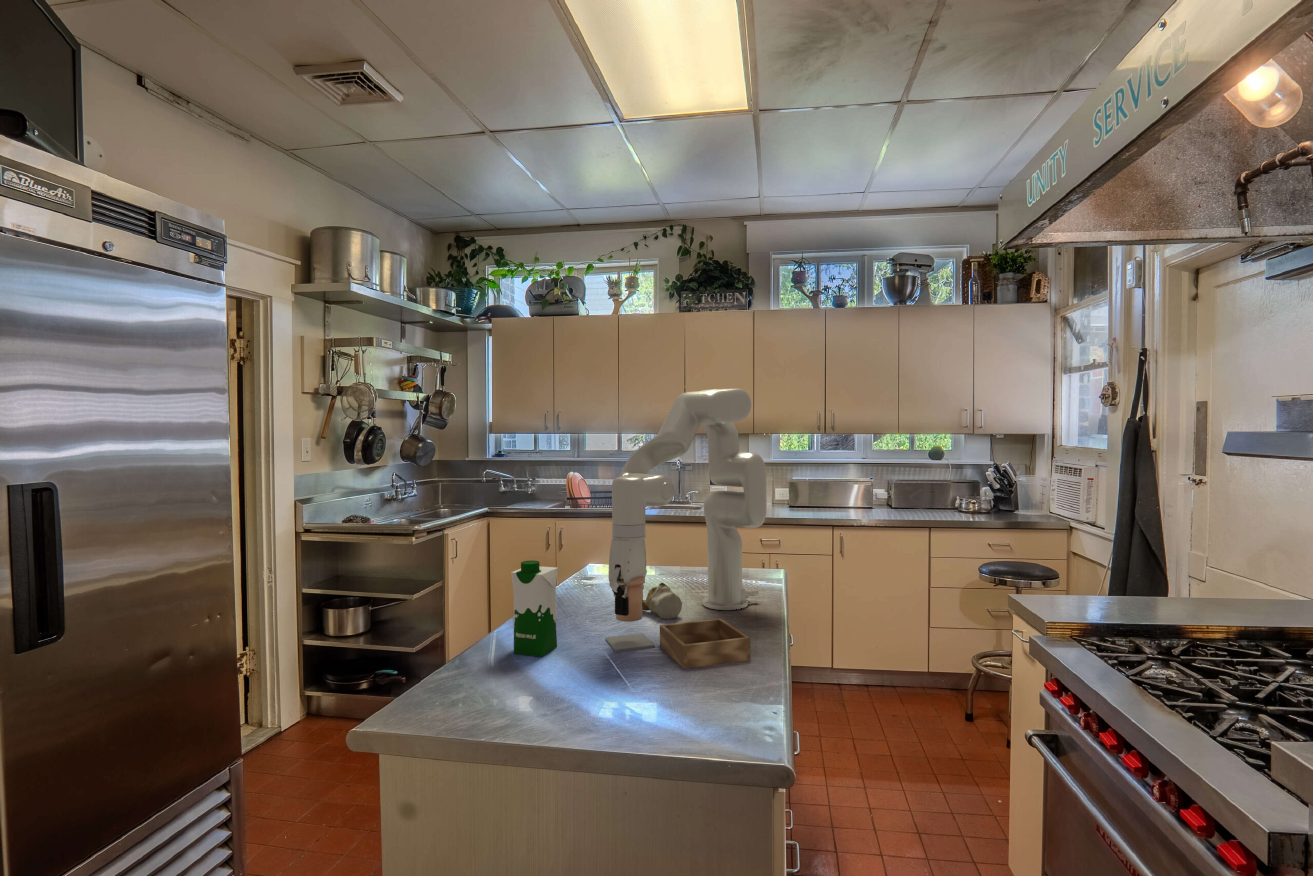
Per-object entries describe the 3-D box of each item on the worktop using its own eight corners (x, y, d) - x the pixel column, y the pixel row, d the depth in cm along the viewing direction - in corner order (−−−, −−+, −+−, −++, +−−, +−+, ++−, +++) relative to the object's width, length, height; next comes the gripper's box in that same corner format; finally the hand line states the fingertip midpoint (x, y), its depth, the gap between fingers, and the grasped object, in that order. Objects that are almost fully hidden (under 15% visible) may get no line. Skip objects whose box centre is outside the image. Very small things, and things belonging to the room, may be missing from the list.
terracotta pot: (639, 612, 151) (639, 573, 151) (649, 620, 145) (649, 580, 145) (609, 615, 149) (609, 575, 149) (617, 623, 142) (617, 582, 142)
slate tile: (642, 637, 153) (642, 633, 153) (654, 649, 144) (654, 645, 144) (605, 641, 150) (605, 637, 150) (615, 654, 141) (615, 649, 141)
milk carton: (507, 654, 142) (506, 563, 141) (528, 642, 150) (528, 555, 150) (543, 659, 139) (542, 565, 138) (563, 645, 147) (562, 557, 147)
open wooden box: (721, 640, 150) (721, 618, 150) (750, 661, 136) (750, 638, 136) (659, 647, 146) (659, 625, 146) (683, 670, 131) (683, 646, 131)
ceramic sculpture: (654, 589, 163) (631, 580, 177) (655, 624, 163) (632, 612, 176) (692, 585, 168) (666, 577, 181) (692, 619, 167) (667, 608, 181)
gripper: (632, 525, 156) (632, 600, 156) (594, 535, 141) (594, 618, 141) (660, 527, 153) (660, 604, 153) (624, 538, 137) (624, 623, 137)
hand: (629, 610), depth 147 cm, fingers closed on terracotta pot, 6 cm apart
